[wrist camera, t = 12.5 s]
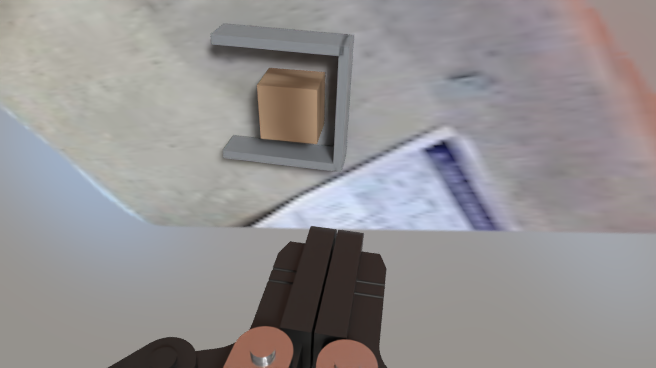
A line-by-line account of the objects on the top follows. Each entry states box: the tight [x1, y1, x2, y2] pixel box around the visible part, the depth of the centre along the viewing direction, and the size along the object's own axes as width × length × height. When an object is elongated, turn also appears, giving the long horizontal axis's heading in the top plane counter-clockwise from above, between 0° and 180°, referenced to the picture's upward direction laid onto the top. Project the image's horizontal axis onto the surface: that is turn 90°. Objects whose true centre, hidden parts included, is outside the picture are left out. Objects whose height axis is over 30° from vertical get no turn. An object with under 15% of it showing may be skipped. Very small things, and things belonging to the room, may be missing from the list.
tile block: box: [257, 68, 325, 144], centre depth 42 cm, size 5×5×4 cm
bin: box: [210, 24, 354, 172], centre depth 42 cm, size 11×12×3 cm
